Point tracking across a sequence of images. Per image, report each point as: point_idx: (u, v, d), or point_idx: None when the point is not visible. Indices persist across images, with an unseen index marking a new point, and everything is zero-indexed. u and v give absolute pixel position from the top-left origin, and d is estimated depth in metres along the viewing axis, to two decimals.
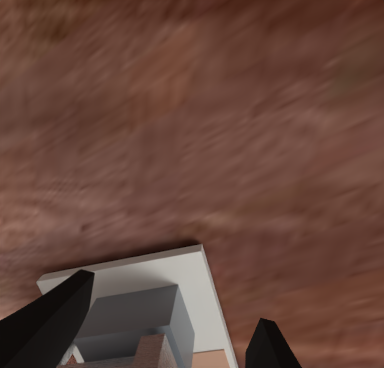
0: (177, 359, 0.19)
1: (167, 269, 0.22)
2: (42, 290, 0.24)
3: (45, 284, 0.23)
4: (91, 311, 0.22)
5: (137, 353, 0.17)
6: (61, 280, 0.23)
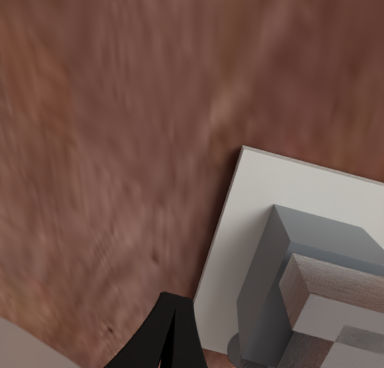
0: (355, 265, 0.12)
1: (245, 204, 0.16)
2: None
3: None
4: (239, 316, 0.17)
5: (286, 303, 0.11)
6: None
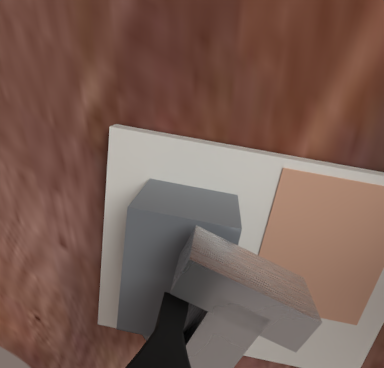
0: (192, 226, 0.12)
1: (124, 181, 0.16)
2: (110, 324, 0.20)
3: (103, 317, 0.20)
4: None
5: (176, 270, 0.11)
6: (103, 300, 0.19)
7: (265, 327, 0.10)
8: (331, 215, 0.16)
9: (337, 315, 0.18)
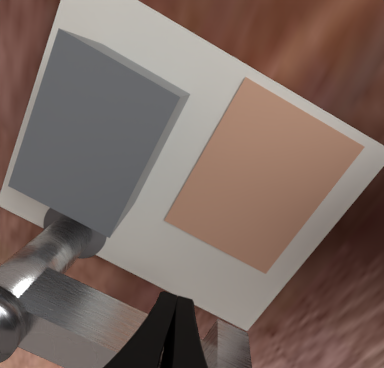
0: (127, 77, 0.11)
1: None
2: (10, 209, 0.18)
3: (5, 198, 0.17)
4: None
5: (219, 342, 0.12)
6: (10, 177, 0.17)
7: None
8: (277, 148, 0.15)
9: (250, 258, 0.17)
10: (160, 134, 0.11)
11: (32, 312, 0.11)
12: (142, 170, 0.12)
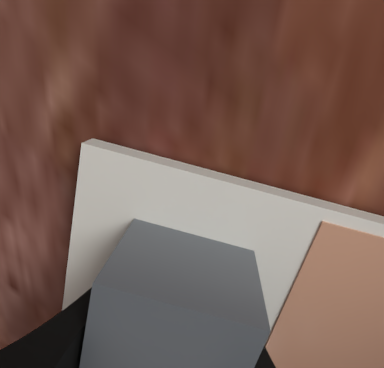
0: (193, 320, 0.08)
1: (97, 218, 0.12)
2: None
3: None
4: None
5: None
6: None
7: None
8: (379, 289, 0.12)
9: None
10: None
11: None
12: None
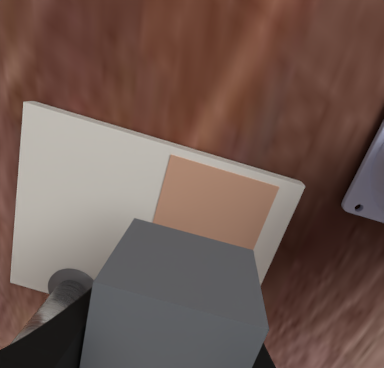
0: (193, 318, 0.08)
1: (35, 152, 0.18)
2: (21, 283, 0.22)
3: (15, 276, 0.22)
4: None
5: None
6: (15, 260, 0.21)
7: None
8: (211, 200, 0.18)
9: None
10: None
11: None
12: None
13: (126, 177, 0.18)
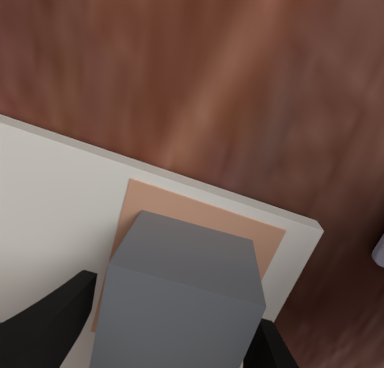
0: (197, 297, 0.09)
1: None
2: None
3: None
4: None
5: None
6: None
7: None
8: None
9: None
10: (248, 344, 0.09)
11: None
12: None
13: (68, 207, 0.13)
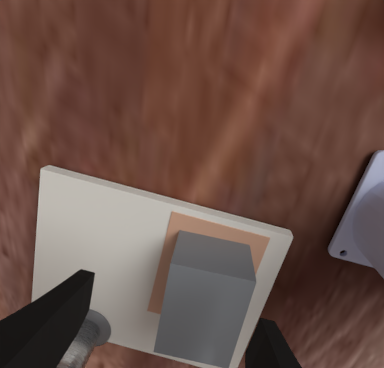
0: (219, 278, 0.16)
1: (51, 210, 0.21)
2: None
3: None
4: None
5: None
6: None
7: None
8: None
9: None
10: (248, 304, 0.17)
11: None
12: (241, 325, 0.17)
13: (133, 230, 0.21)
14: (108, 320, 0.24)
